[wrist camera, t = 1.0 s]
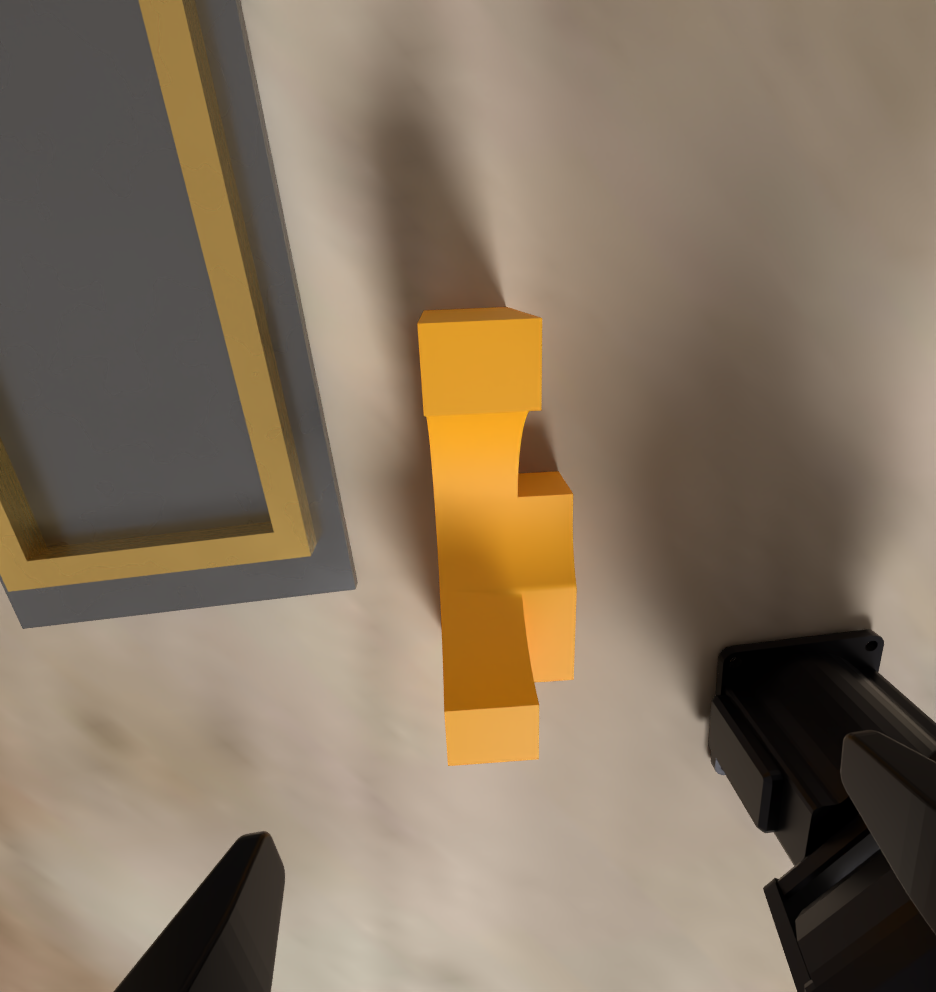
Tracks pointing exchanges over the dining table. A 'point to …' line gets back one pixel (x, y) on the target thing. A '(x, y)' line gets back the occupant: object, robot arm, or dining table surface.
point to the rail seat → (150, 324)
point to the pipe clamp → (494, 532)
